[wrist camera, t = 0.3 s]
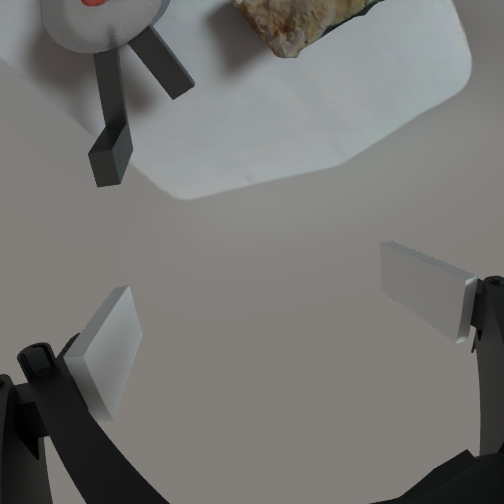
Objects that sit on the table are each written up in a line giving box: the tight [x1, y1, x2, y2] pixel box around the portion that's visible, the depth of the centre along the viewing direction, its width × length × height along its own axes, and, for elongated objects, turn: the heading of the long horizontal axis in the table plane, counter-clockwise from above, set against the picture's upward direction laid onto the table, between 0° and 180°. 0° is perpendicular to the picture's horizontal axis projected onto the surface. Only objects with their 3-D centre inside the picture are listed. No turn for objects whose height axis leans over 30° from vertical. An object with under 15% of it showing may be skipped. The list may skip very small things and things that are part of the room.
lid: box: [41, 0, 164, 187], centre depth 22 cm, size 27×14×8 cm, turn 179°
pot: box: [127, 0, 195, 100], centre depth 25 cm, size 26×13×9 cm, turn 29°
